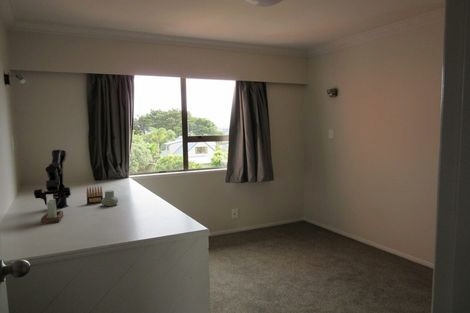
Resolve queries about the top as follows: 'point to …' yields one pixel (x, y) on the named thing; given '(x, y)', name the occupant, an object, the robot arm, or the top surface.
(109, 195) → the air freshener
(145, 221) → the top surface
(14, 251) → the top surface
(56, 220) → the brown wooden tray
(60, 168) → the robot arm
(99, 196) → the ammunition clip
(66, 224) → the top surface
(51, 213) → the pale green rectangular block
